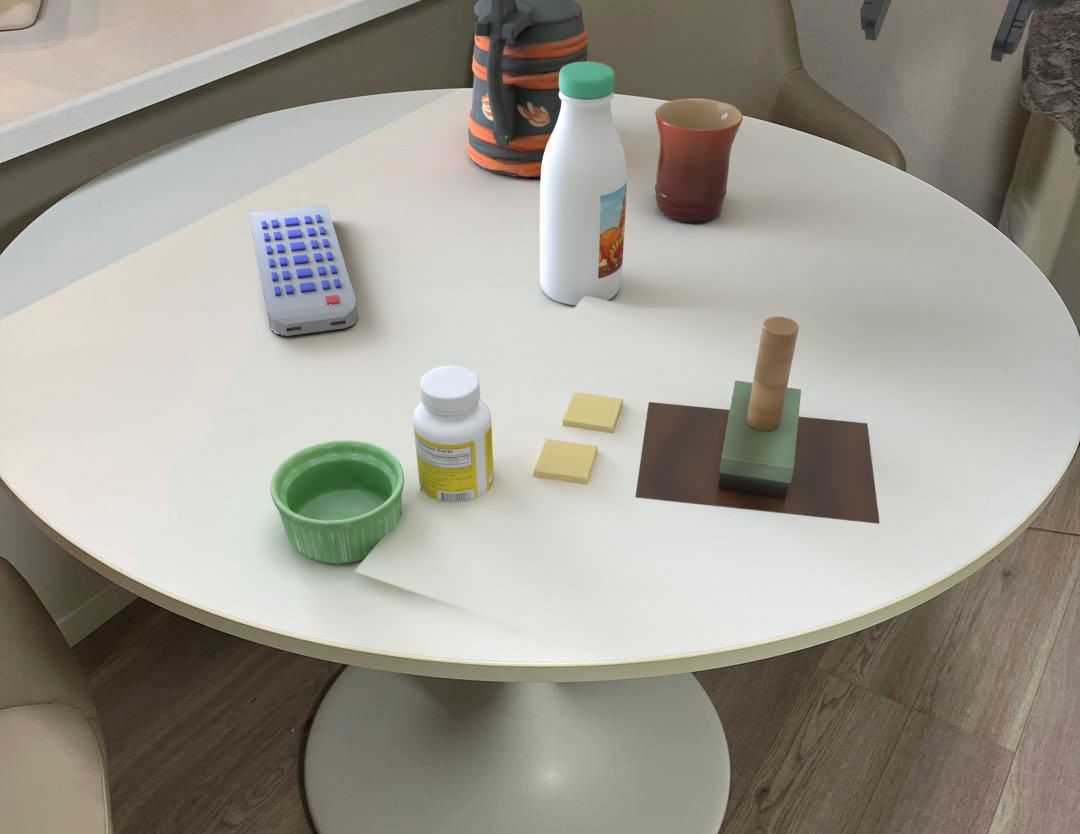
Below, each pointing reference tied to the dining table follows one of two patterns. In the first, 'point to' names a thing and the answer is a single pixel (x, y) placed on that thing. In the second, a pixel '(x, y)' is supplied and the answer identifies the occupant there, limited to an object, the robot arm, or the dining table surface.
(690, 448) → the tray
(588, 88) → the milk bottle
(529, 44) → the beer stein
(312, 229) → the remote control
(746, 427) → the brush
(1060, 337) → the dining table surface
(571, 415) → the crumb
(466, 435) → the supplement bottle
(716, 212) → the mug
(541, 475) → the crumb
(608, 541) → the dining table surface
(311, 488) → the ramekin
